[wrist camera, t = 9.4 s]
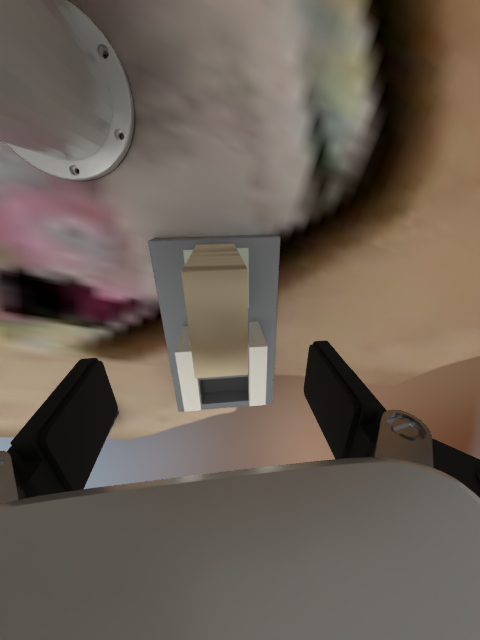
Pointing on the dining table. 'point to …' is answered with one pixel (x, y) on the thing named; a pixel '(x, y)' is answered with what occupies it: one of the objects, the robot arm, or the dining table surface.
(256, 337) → the pale grey u-shaped piece
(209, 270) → the block
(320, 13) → the dining table surface
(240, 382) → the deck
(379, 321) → the dining table surface
